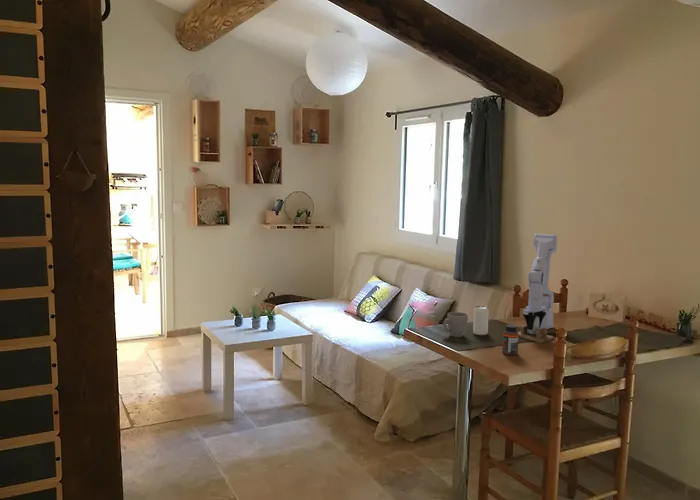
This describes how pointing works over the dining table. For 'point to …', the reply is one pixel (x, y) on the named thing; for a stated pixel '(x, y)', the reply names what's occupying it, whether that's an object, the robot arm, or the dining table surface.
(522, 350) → the dining table surface
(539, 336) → the holder
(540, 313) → the robot arm
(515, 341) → the supplement bottle
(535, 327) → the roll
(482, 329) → the can
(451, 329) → the mug
